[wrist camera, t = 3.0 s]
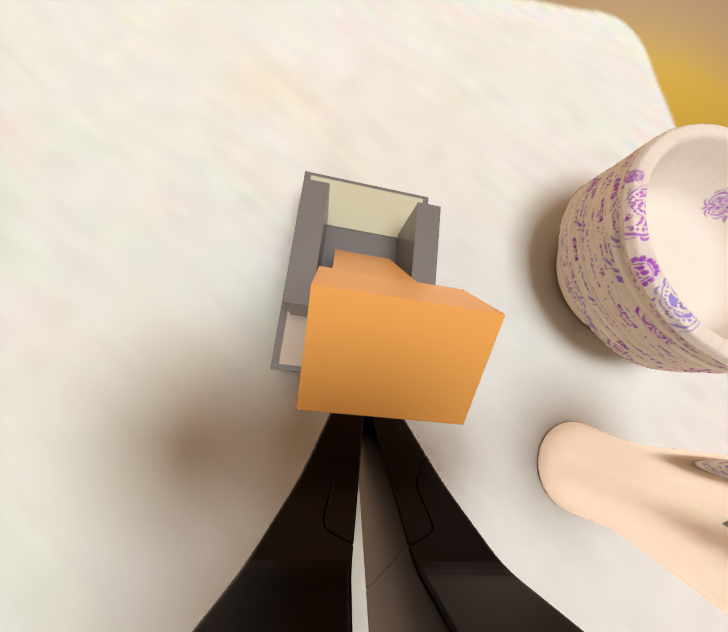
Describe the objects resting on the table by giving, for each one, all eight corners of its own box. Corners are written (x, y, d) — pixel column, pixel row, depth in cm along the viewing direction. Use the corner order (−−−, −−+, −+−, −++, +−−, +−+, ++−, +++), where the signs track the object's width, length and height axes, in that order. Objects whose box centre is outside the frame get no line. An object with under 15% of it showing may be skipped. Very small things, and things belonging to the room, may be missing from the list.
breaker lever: (384, 292, 16) (462, 424, 6) (325, 283, 15) (296, 409, 5) (394, 249, 15) (505, 314, 5) (331, 238, 15) (311, 283, 4)
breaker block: (398, 380, 18) (440, 391, 12) (279, 367, 17) (254, 371, 11) (412, 221, 20) (454, 157, 14) (307, 200, 19) (301, 121, 13)
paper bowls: (489, 245, 21) (586, 179, 13) (607, 171, 25) (739, 84, 17) (599, 408, 20) (771, 438, 13) (706, 308, 24) (892, 284, 16)
